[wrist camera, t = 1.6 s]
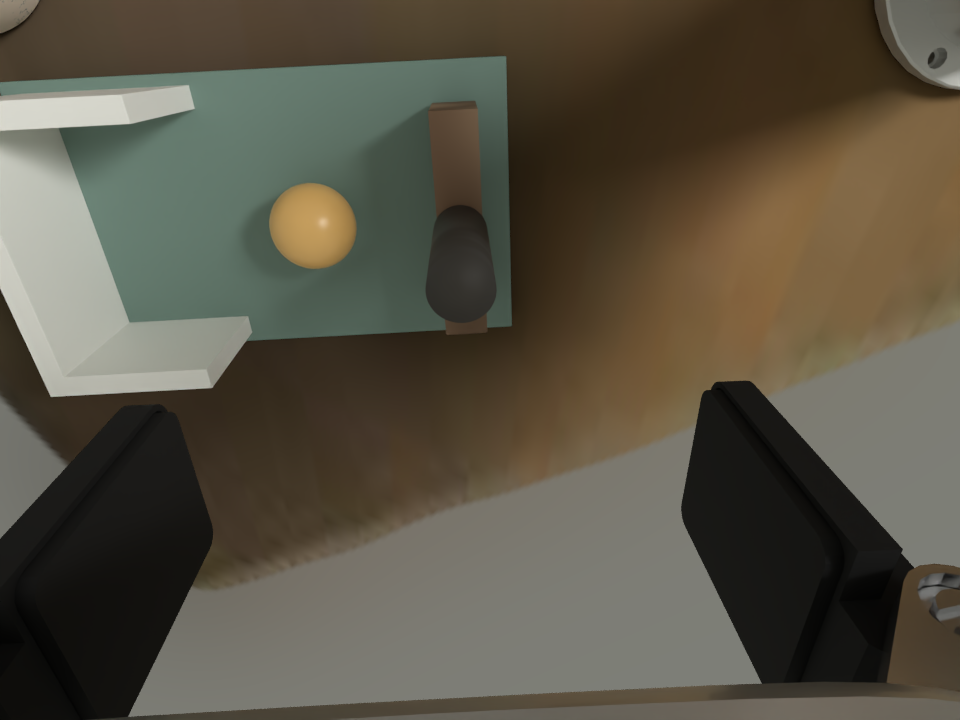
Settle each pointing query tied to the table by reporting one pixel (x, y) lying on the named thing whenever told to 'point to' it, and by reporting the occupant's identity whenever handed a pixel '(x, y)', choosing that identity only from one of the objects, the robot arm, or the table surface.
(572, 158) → the table surface
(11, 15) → the teacup with lid
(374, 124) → the game board
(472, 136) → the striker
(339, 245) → the ball
